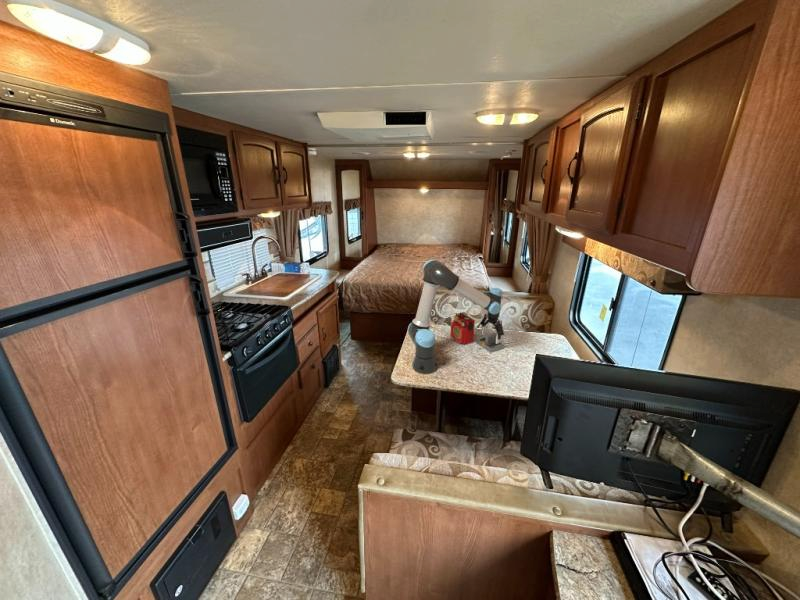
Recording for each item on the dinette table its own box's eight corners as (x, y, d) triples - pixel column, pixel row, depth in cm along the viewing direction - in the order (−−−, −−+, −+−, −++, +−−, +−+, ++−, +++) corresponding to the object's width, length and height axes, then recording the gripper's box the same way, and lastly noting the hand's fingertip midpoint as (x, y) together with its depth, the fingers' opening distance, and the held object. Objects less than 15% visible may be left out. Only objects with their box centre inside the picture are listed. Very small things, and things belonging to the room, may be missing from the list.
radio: (449, 336, 226) (450, 312, 219) (460, 333, 231) (462, 309, 223) (462, 346, 213) (465, 320, 206) (474, 343, 218) (476, 317, 210)
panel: (487, 346, 211) (488, 336, 208) (484, 345, 213) (485, 335, 210) (495, 344, 215) (496, 333, 212) (493, 342, 217) (494, 332, 214)
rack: (490, 352, 206) (491, 347, 204) (475, 343, 218) (476, 338, 216) (503, 348, 211) (504, 343, 209) (488, 339, 223) (489, 334, 222)
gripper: (512, 316, 196) (507, 345, 204) (485, 303, 216) (482, 330, 224) (503, 318, 192) (499, 348, 200) (476, 305, 213) (474, 332, 221)
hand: (490, 338), depth 212 cm, fingers open, 13 cm apart
